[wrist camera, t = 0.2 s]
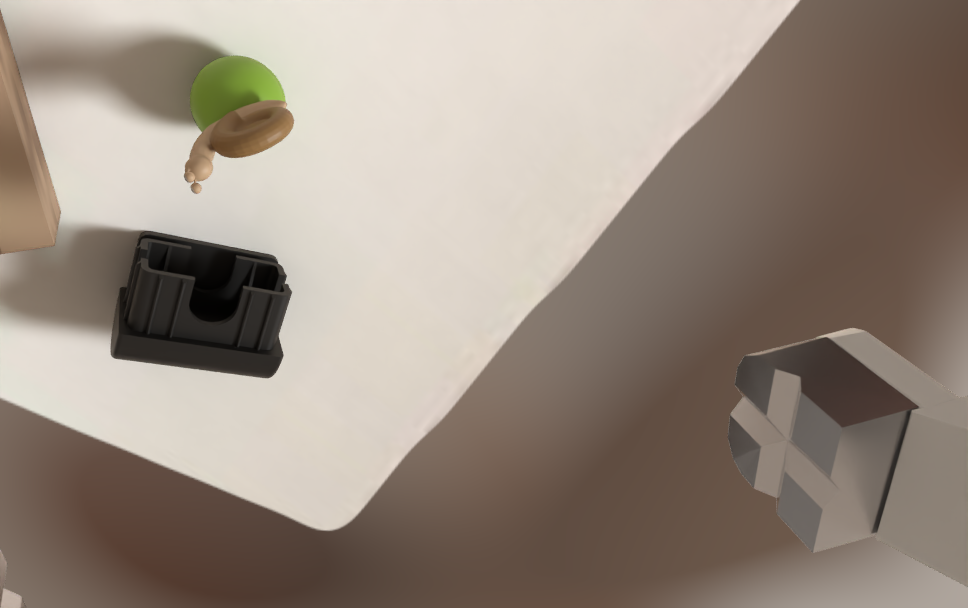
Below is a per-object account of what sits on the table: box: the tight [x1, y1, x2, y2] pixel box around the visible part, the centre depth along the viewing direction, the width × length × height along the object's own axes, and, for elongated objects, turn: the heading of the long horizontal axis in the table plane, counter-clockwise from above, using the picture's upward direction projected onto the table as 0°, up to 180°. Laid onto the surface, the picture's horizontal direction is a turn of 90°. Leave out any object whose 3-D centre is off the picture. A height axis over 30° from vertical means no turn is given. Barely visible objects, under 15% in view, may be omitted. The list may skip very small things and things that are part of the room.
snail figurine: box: [184, 56, 294, 194], centre depth 48 cm, size 5×6×12 cm
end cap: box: [111, 231, 292, 378], centre depth 56 cm, size 10×7×7 cm
